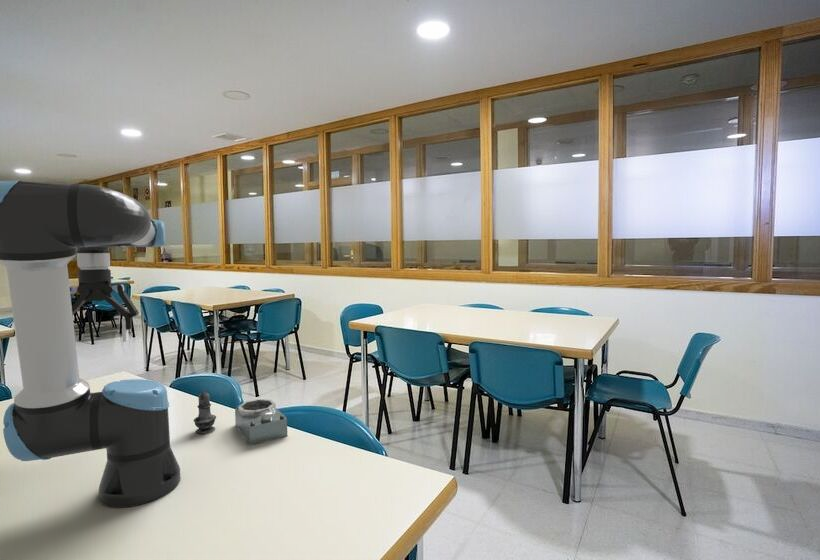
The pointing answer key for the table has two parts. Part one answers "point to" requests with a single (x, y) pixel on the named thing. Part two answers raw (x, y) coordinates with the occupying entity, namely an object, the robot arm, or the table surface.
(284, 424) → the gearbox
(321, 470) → the table surface
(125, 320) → the robot arm
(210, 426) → the dark grey tapered piece
